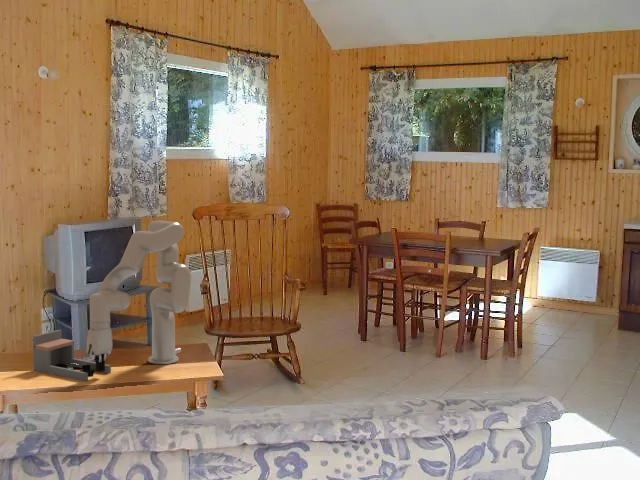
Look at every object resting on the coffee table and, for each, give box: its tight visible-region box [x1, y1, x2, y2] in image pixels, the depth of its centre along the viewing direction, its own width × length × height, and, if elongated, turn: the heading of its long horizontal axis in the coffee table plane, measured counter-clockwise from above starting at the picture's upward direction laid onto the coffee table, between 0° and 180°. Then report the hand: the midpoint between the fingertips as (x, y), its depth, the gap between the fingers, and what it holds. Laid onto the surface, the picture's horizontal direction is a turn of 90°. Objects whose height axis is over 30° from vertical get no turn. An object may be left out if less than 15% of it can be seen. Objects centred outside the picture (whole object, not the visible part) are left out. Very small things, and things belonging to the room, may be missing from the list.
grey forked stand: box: [32, 329, 112, 382], centre depth 297 cm, size 14×28×14 cm, turn 62°
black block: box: [80, 362, 95, 378], centre depth 296 cm, size 12×7×5 cm, turn 14°
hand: (100, 370), depth 291 cm, fingers closed
